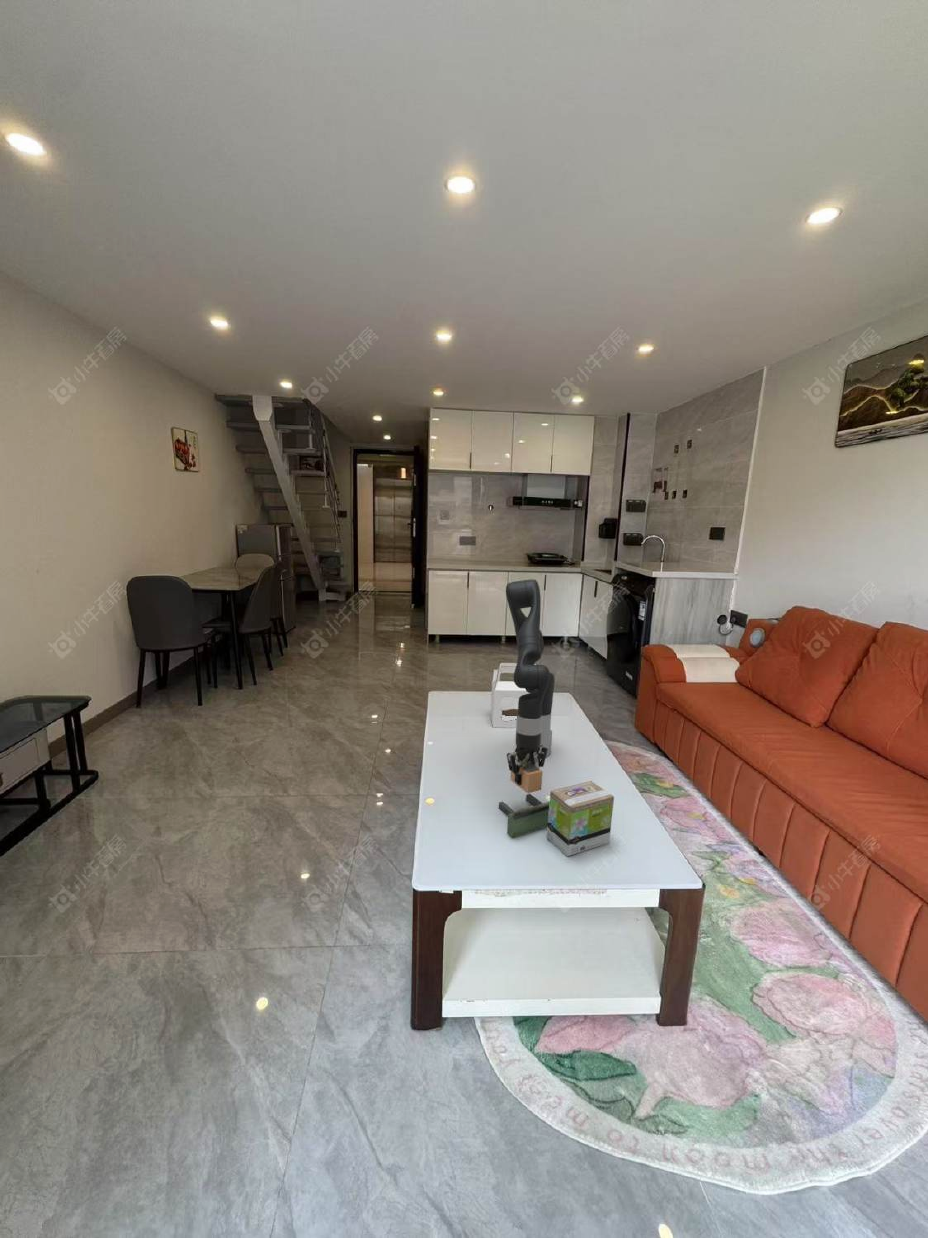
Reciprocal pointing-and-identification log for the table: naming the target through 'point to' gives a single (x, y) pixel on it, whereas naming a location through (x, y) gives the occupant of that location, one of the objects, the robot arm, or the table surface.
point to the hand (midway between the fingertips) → (525, 781)
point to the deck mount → (526, 817)
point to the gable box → (501, 691)
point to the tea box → (579, 817)
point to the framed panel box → (530, 778)
